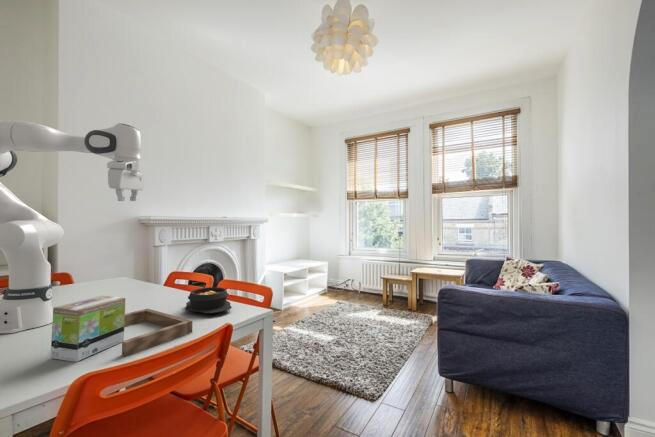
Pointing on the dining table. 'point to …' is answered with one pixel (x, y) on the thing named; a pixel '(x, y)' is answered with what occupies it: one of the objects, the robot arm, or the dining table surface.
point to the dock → (171, 331)
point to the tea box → (87, 327)
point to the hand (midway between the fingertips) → (127, 201)
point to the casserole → (208, 300)
